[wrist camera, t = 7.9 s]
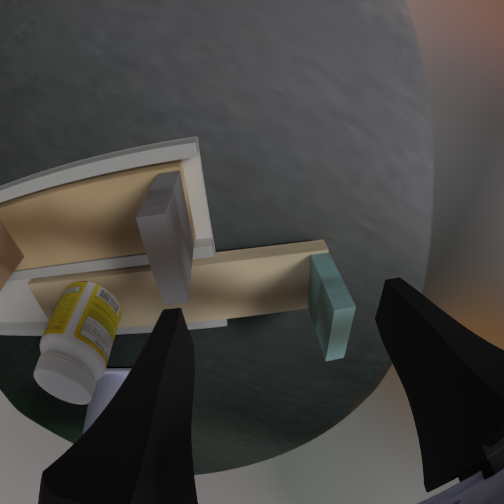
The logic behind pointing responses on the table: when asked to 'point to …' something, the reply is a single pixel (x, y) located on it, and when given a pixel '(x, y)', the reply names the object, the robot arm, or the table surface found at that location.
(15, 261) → the walnut cube
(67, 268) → the lane board
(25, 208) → the gray handled wooden slider
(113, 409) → the robot arm
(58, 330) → the supplement bottle
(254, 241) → the table surface
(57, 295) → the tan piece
